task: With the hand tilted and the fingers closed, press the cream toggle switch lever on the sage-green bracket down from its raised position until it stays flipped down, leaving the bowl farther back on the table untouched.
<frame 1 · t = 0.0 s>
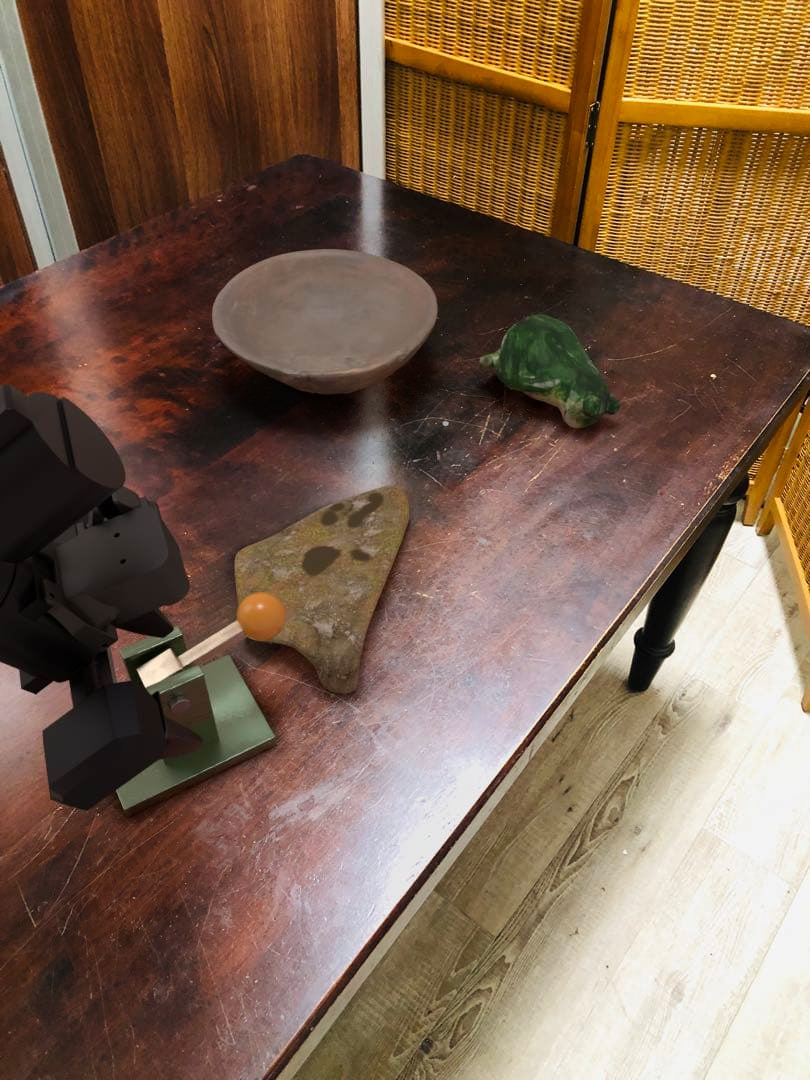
hand: (182, 686, 56), 13 cm above the table, tool tilted 35°, fingers open, 9 cm apart
decorative stone: (314, 573, 81), on the table
switch lever: (216, 644, 64), point 9 cm above the table, hinge at 15.0°
figurine: (549, 402, 100), on the table
bowl: (328, 368, 103), on the table
switch bracket: (182, 734, 69), on the table
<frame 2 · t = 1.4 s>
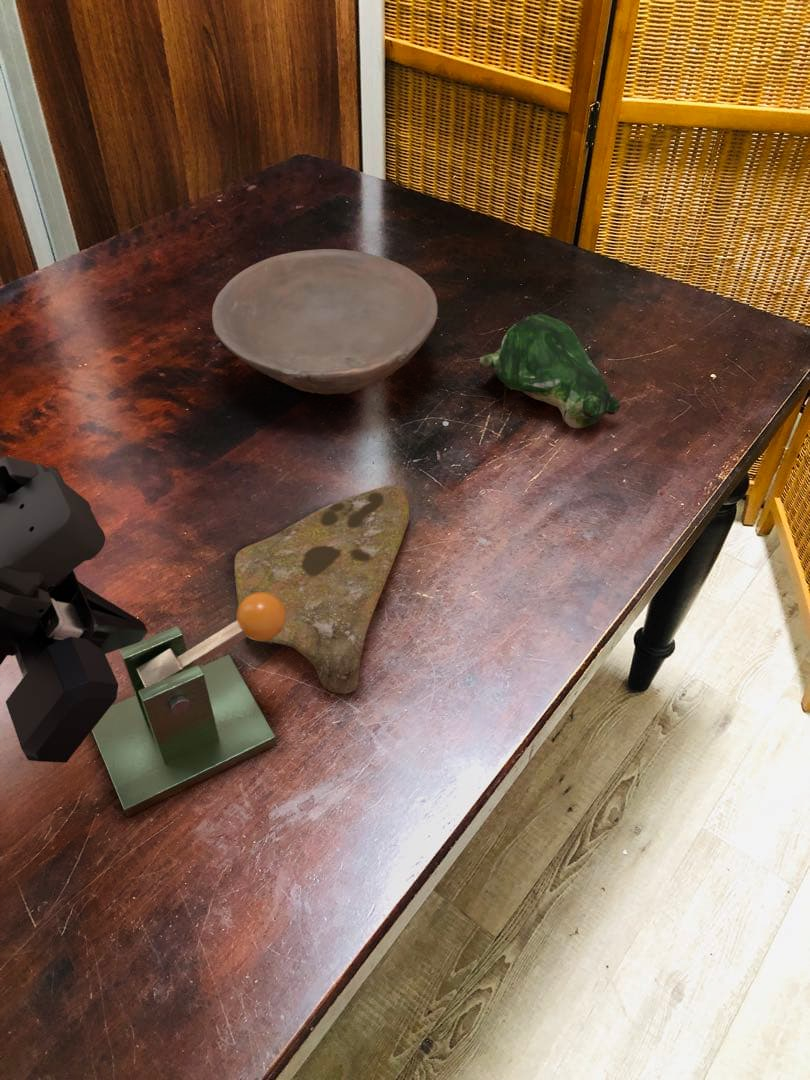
hand: (142, 632, 59), 14 cm above the table, tool tilted 45°, fingers closed
nothing on the table moved.
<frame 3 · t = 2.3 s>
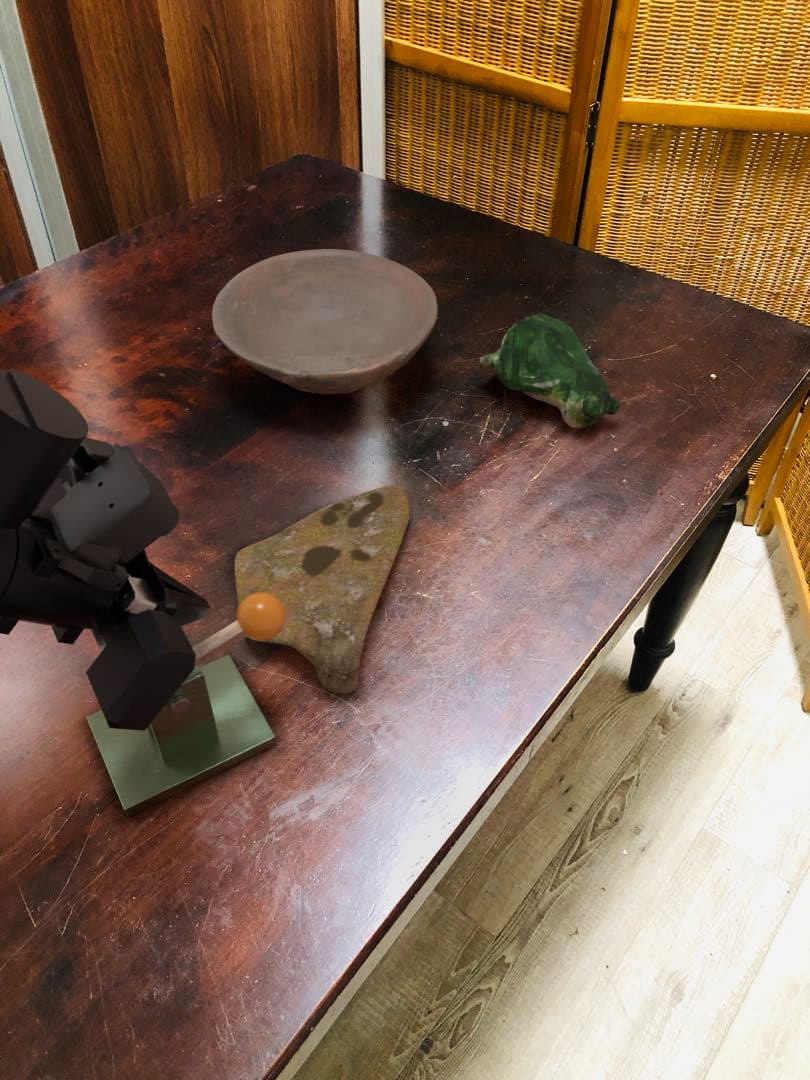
hand: (205, 609, 61), 13 cm above the table, tool tilted 45°, fingers closed
nothing on the table moved.
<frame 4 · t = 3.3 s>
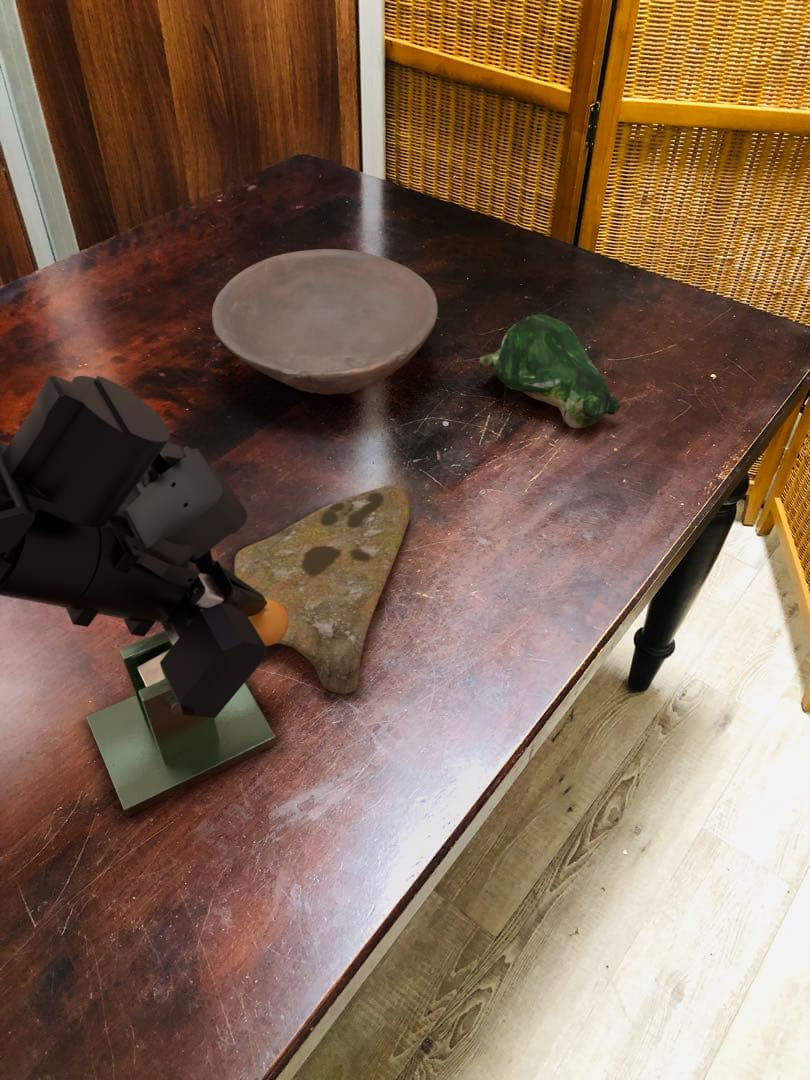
hand: (261, 604, 64), 11 cm above the table, tool tilted 45°, fingers closed, pressing on switch lever
switch lever: (218, 647, 64), point 9 cm above the table, hinge at 9.5°, touching gripper
everything else where it was.
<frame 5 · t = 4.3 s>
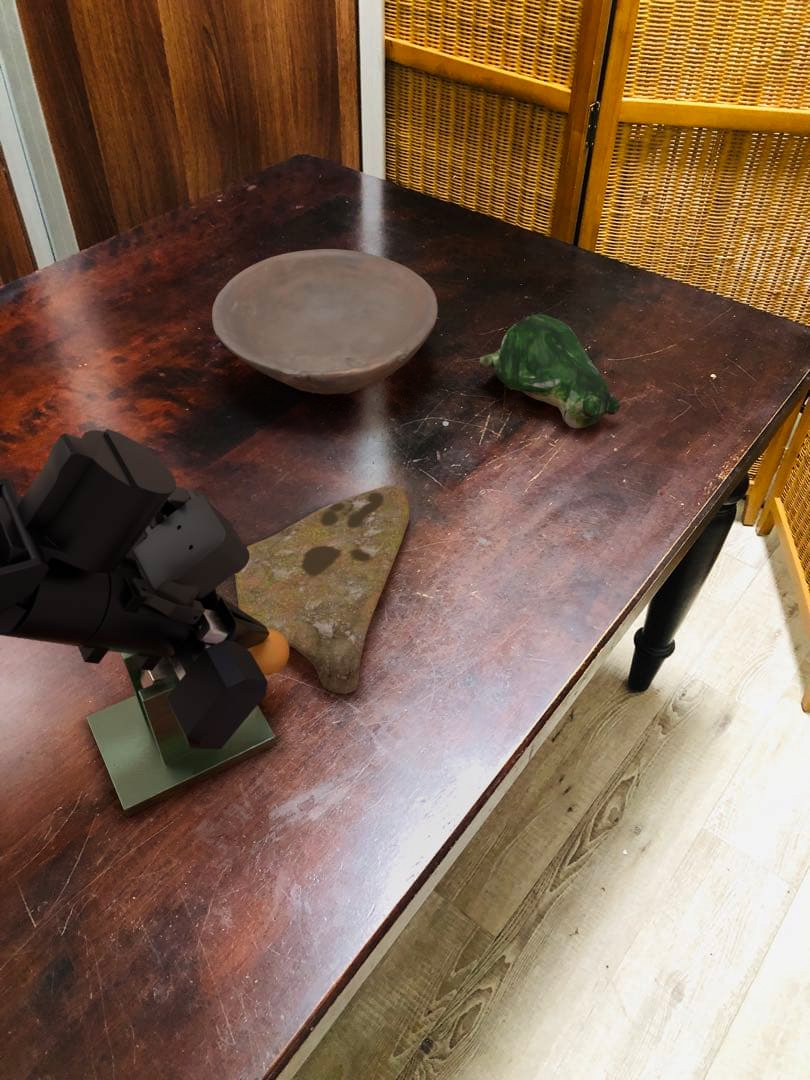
hand: (264, 634, 66), 8 cm above the table, tool tilted 45°, fingers closed, pressing on switch bracket
switch lever: (219, 663, 66), point 7 cm above the table, hinge at -16.5°
everything else where it was.
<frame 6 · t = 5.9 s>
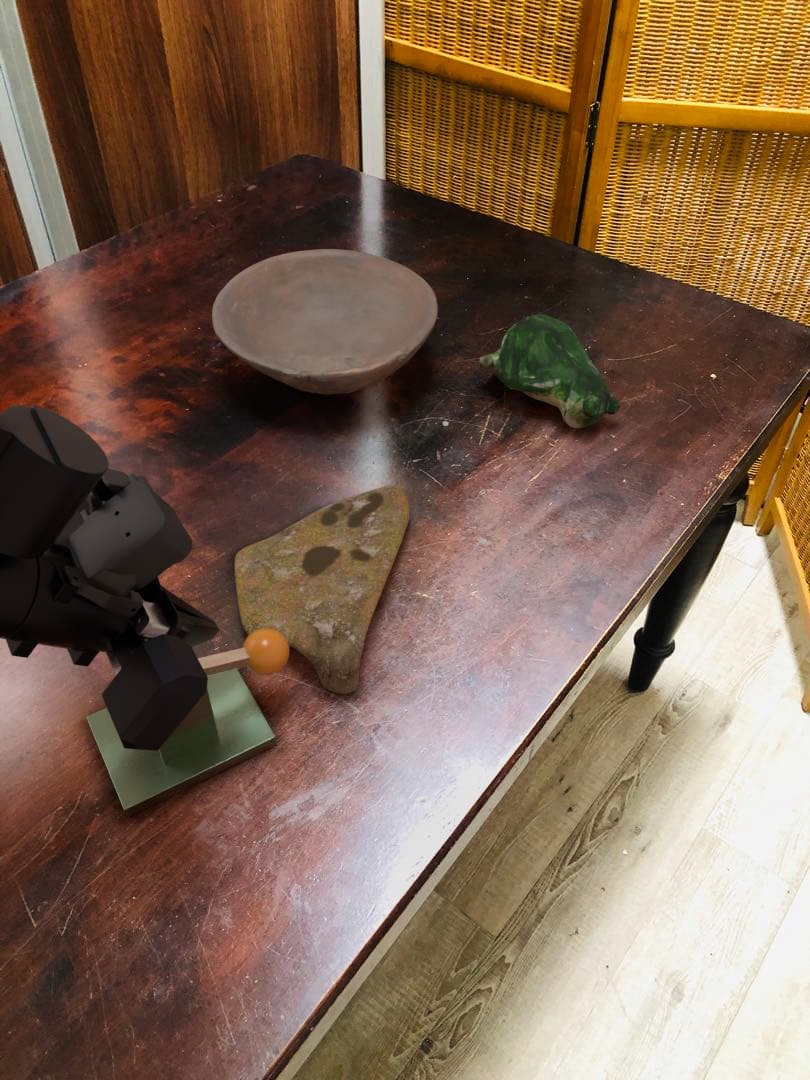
hand: (214, 630, 63), 11 cm above the table, tool tilted 45°, fingers closed
nothing on the table moved.
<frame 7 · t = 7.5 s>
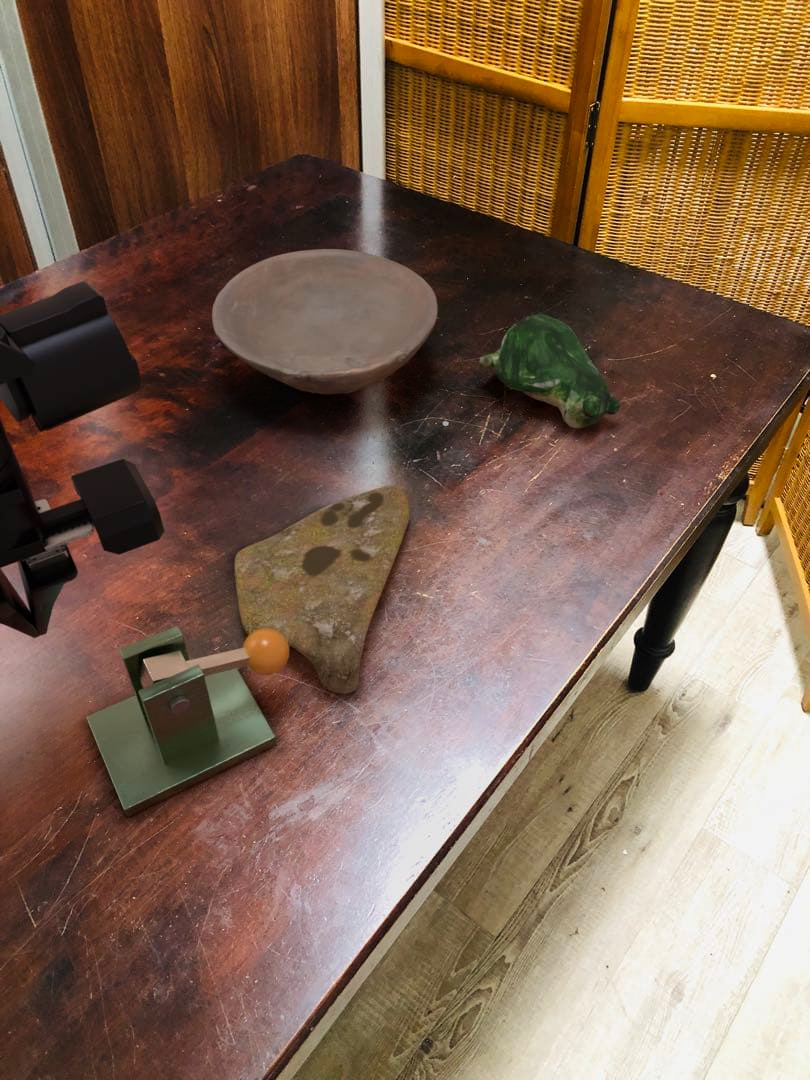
hand: (38, 631, 59), 13 cm above the table, tool pointing down, fingers closed
nothing on the table moved.
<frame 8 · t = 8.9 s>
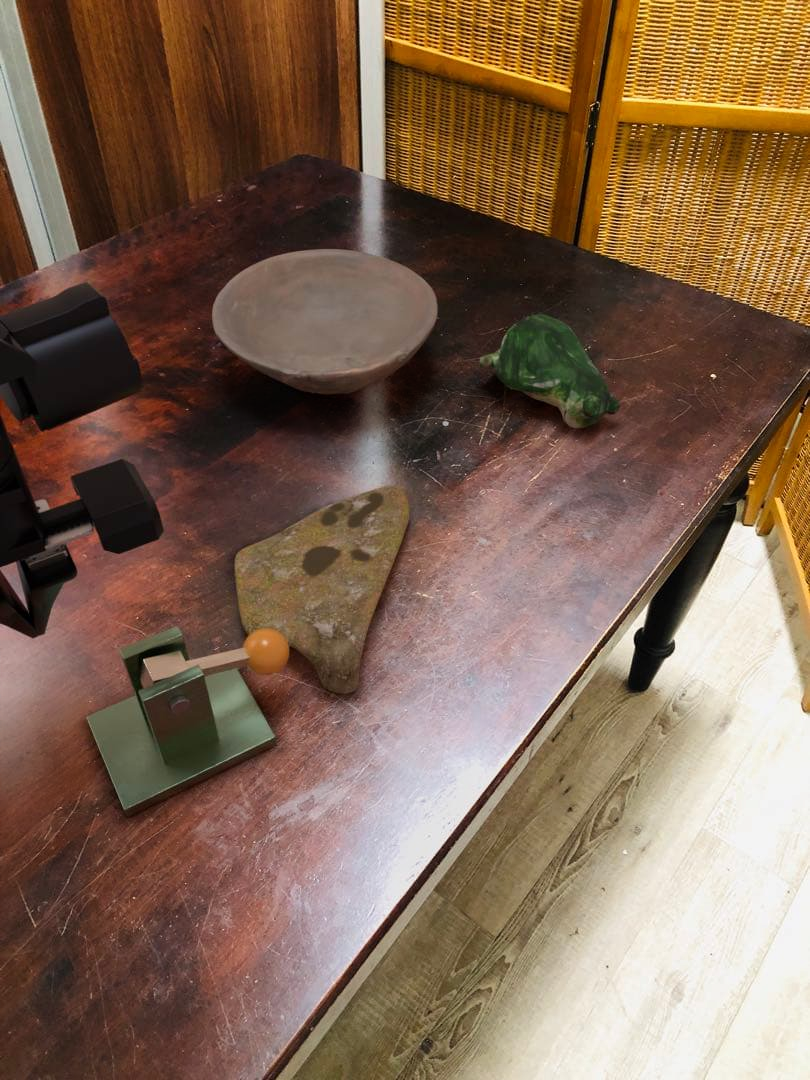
hand: (36, 631, 59), 13 cm above the table, tool pointing down, fingers closed
nothing on the table moved.
at the end: switch lever at -16° (first picture: +15°); switch lever reached +15° during the clip, -16° at the end; bowl moved 0.2 cm from its start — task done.
